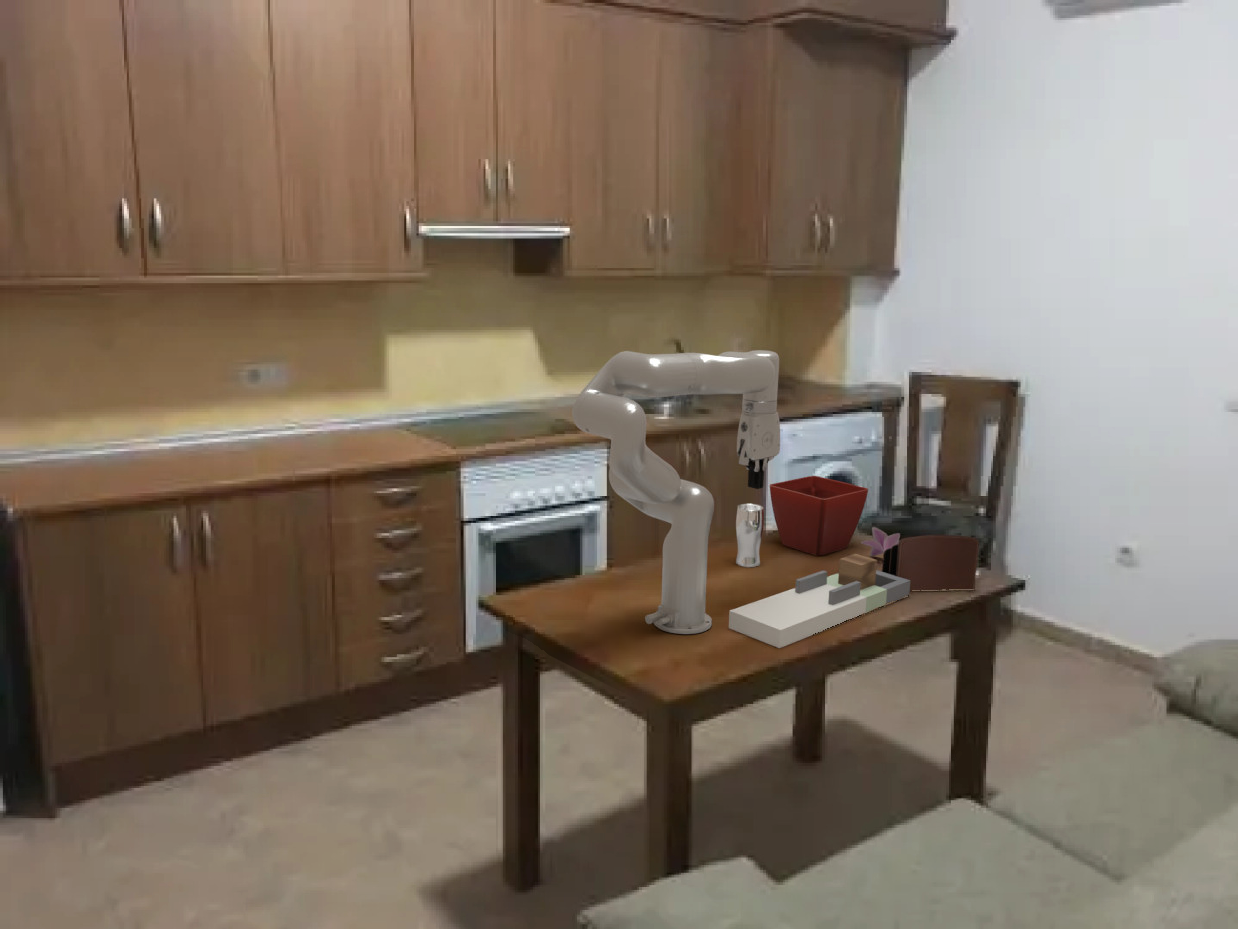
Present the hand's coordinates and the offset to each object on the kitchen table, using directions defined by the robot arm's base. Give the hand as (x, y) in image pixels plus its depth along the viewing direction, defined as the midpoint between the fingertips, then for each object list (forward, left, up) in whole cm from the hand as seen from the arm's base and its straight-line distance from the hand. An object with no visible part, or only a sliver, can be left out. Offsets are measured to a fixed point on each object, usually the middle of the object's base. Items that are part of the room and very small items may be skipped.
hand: (755, 487), depth 236 cm
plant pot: (+45, +16, -27) cm, 55 cm away
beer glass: (+20, +18, -27) cm, 38 cm away
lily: (+49, -4, -27) cm, 56 cm away
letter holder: (+42, -20, -28) cm, 54 cm away
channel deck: (+8, -15, -27) cm, 32 cm away
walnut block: (+20, -15, -23) cm, 34 cm away
